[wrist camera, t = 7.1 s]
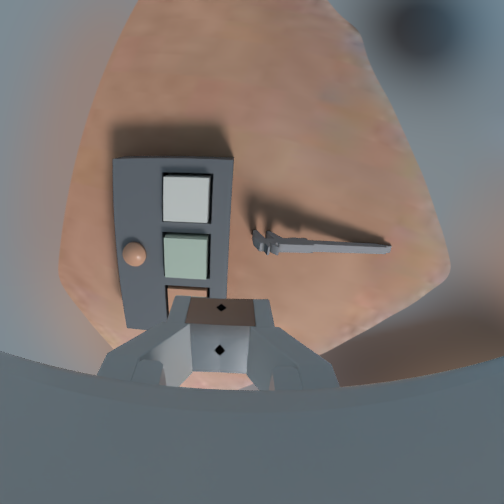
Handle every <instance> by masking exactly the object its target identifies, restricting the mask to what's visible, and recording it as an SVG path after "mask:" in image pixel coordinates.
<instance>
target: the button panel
mask: <svg viewBox="0 0 504 504" xmlns="http://www.w3.org/2000/svg"><path fill="white" fill-rule="evenodd" d="M233 164H234V158H228V157H205V156H124V157H119V158H115V159H113V201H114V221H115V236H116V248H117V259H118V268H119V277H120V285H121V292H122V300H123V306H124V313H125V319H126V325H127V328H132V329H142V330H149V329H150V328H152V327H154V326H156V325H157V324H159V323H161V322H167V319H168V316H169V305H168V290H167V288H168V286H169V285H173V286H190V287H207V288H208V297H209V298H222V299H226V296H227V273H228V251H229V231H230V213H231V196H232V179H233ZM168 174H203V175H211V190H210V215H209V219H208V222H207V223H197V222H173V221H163V177H164V176H166V175H168ZM167 232H179V233H200V234H209V249H208V272H207V278H206V280H204V279H186V278H169V277H165V261H164V237H165V235H166V234H167Z"/></svg>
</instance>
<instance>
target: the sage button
mask: <svg viewBox="0 0 504 504" xmlns="http://www.w3.org/2000/svg"><path fill="white" fill-rule="evenodd" d="M208 249H209V234H200V233H179V232H167V234H166V235H165V237H164V261H165V277H169V278H186V279H204V280H206V278H207V272H208Z"/></svg>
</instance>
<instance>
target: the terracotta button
mask: <svg viewBox="0 0 504 504" xmlns="http://www.w3.org/2000/svg"><path fill="white" fill-rule="evenodd" d="M167 290H168V305H169V313H170V310H171V307H172V304H173V301H174V298H175V296H176V295H182V296H191V297H192V296H196V297H208V288H207V287H190V286H173V285H169V286H168V288H167Z"/></svg>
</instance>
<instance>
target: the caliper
mask: <svg viewBox="0 0 504 504" xmlns="http://www.w3.org/2000/svg"><path fill="white" fill-rule="evenodd" d="M252 240H253V245H254V246H255V247H256V248H257V249H258V250H259V251H264V252H265V253H266V254H267V255H269V252H271V253H273V254H275V255H278V253H279V252H298V253H313V252H340V253H370V254H386V253H389V252H390V250H391V246H388V245H381V244H372V243H353V242H334V241H314V240H307V239H306V238H282V237H280V236H278V235H276V234H274V233H272V232H271V231H267V232H266V238H264V237H263V236H262V235H261V234H260V233H259V232H258V231H257V230H253V236H252Z"/></svg>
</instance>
